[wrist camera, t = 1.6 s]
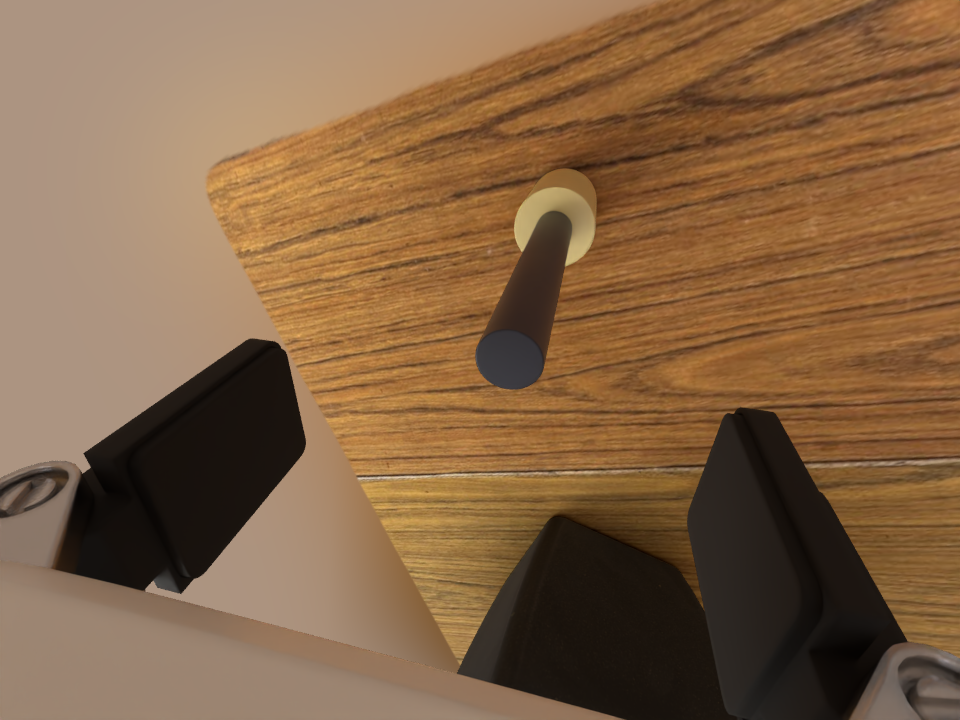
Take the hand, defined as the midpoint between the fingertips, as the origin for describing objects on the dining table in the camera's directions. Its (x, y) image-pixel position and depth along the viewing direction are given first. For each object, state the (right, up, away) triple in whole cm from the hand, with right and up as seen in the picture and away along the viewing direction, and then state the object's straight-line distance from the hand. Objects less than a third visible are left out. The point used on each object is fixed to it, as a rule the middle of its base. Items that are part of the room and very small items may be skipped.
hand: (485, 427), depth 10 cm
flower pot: (+10, -19, +35) cm, 41 cm away
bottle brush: (+5, +11, +18) cm, 21 cm away
